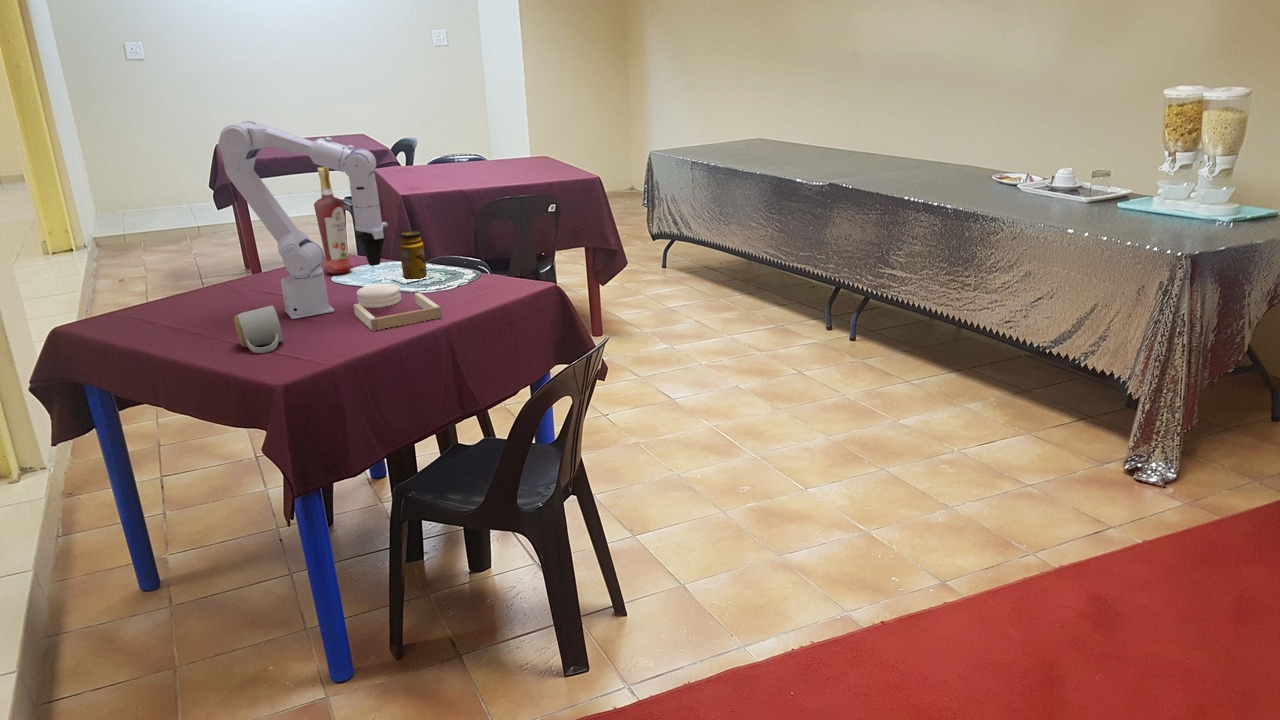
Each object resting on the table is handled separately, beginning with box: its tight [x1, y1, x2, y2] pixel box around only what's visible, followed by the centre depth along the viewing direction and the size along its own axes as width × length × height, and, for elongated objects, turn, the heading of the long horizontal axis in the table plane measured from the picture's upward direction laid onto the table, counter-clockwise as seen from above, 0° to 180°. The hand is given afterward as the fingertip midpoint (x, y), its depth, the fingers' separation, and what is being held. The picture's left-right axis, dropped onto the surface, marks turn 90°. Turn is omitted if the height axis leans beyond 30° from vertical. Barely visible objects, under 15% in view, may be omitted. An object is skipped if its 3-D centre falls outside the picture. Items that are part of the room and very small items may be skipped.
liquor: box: [313, 166, 353, 276], centre depth 236 cm, size 7×7×28 cm
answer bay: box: [353, 292, 443, 332], centre depth 201 cm, size 15×15×2 cm
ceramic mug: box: [233, 305, 283, 354], centre depth 184 cm, size 11×8×8 cm
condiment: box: [399, 230, 428, 279], centre depth 230 cm, size 7×8×12 cm
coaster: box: [356, 283, 402, 309], centre depth 213 cm, size 10×10×4 cm
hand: (374, 264), depth 204 cm, fingers closed
